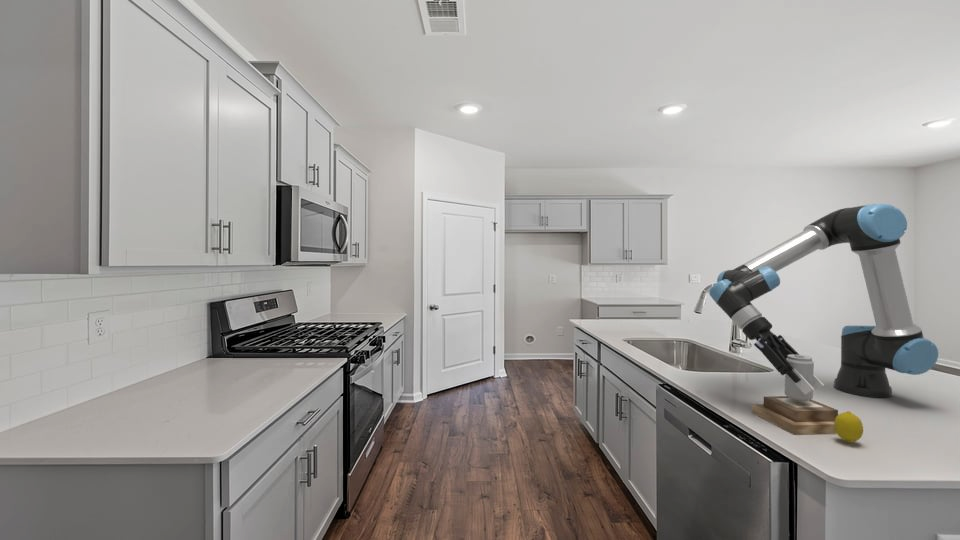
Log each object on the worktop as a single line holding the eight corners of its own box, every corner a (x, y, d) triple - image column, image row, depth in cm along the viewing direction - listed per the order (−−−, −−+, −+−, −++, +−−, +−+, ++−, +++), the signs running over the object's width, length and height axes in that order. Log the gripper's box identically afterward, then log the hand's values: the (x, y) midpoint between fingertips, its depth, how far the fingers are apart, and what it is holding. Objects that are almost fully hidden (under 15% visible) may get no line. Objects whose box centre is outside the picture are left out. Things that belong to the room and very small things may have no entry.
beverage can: (807, 396, 124) (808, 354, 123) (816, 403, 117) (817, 359, 117) (781, 393, 126) (782, 352, 125) (788, 400, 120) (790, 357, 119)
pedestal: (802, 411, 130) (803, 392, 130) (851, 433, 114) (851, 412, 114) (752, 412, 129) (752, 393, 129) (794, 434, 113) (794, 413, 113)
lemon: (828, 438, 111) (828, 407, 111) (847, 437, 111) (848, 407, 111) (848, 448, 105) (849, 415, 105) (868, 447, 106) (869, 415, 106)
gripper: (757, 327, 139) (816, 391, 126) (727, 333, 129) (788, 403, 116) (776, 313, 135) (839, 377, 121) (746, 317, 124) (812, 388, 111)
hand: (814, 389), depth 119 cm, fingers closed on beverage can, 6 cm apart
